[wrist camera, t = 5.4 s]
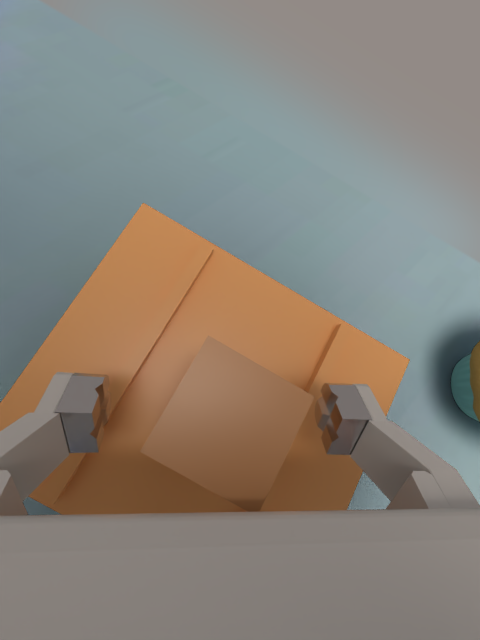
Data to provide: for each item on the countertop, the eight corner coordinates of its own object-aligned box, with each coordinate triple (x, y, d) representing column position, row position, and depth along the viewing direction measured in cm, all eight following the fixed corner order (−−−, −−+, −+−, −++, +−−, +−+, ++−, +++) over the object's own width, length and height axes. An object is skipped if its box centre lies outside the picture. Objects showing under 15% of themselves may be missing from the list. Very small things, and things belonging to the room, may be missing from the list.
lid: (-4, 446, 15) (-294, 546, 6) (149, 226, 18) (109, 67, 9) (276, 600, 16) (397, 900, 7) (381, 362, 19) (566, 344, 10)
